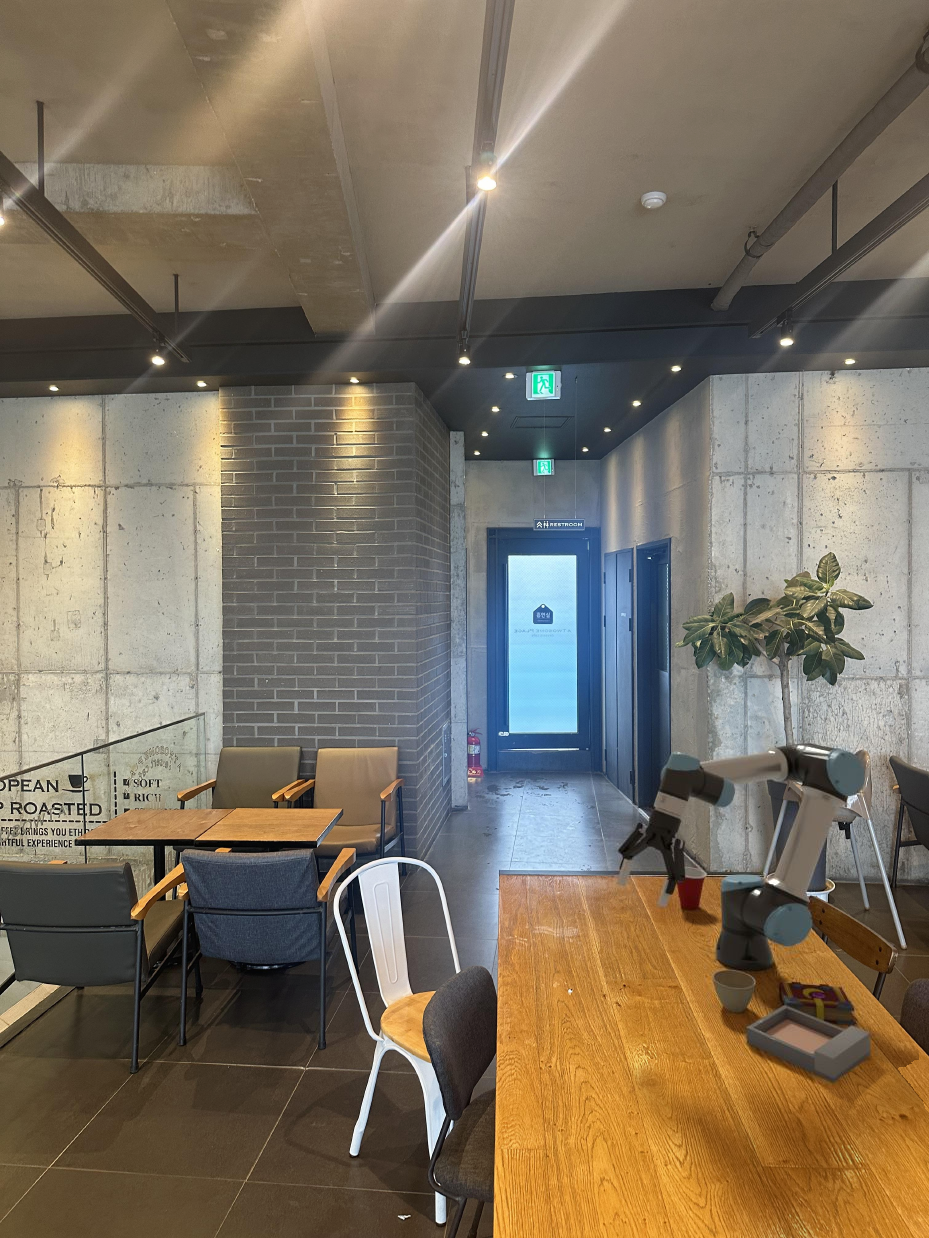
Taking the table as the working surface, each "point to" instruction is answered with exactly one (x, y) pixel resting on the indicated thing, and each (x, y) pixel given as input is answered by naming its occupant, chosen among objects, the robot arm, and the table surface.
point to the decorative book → (818, 1001)
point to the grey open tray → (810, 1042)
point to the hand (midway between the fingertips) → (640, 895)
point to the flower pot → (734, 989)
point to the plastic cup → (691, 888)
